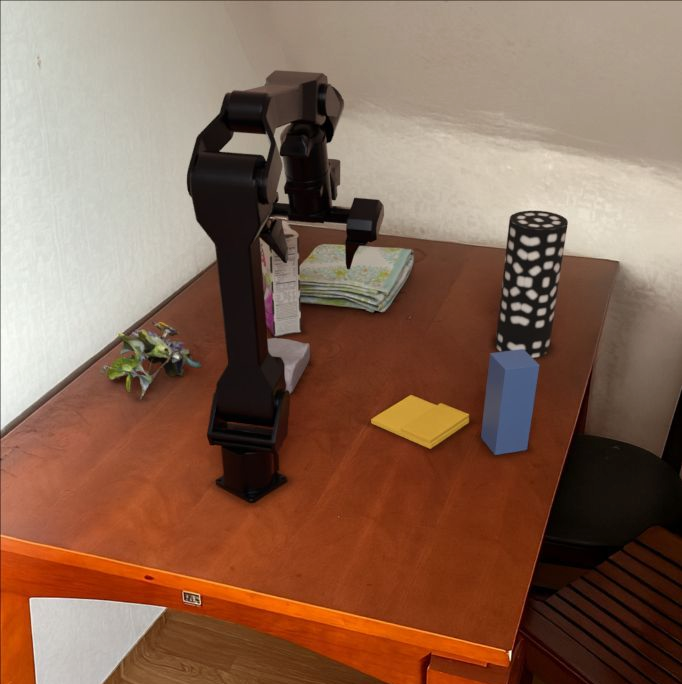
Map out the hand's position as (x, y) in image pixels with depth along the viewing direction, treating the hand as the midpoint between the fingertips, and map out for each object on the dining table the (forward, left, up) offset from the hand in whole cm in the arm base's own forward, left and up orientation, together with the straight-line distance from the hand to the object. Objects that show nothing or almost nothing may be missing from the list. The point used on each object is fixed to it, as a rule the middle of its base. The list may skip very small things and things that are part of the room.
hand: (317, 264), depth 133 cm
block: (-1, -34, -16) cm, 37 cm away
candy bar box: (+7, +15, -16) cm, 23 cm away
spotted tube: (+26, -20, -16) cm, 36 cm away
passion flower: (-21, +13, -16) cm, 30 cm away
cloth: (-4, -22, -16) cm, 27 cm away
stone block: (-7, +3, -16) cm, 18 cm away
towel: (+26, +15, -16) cm, 34 cm away
